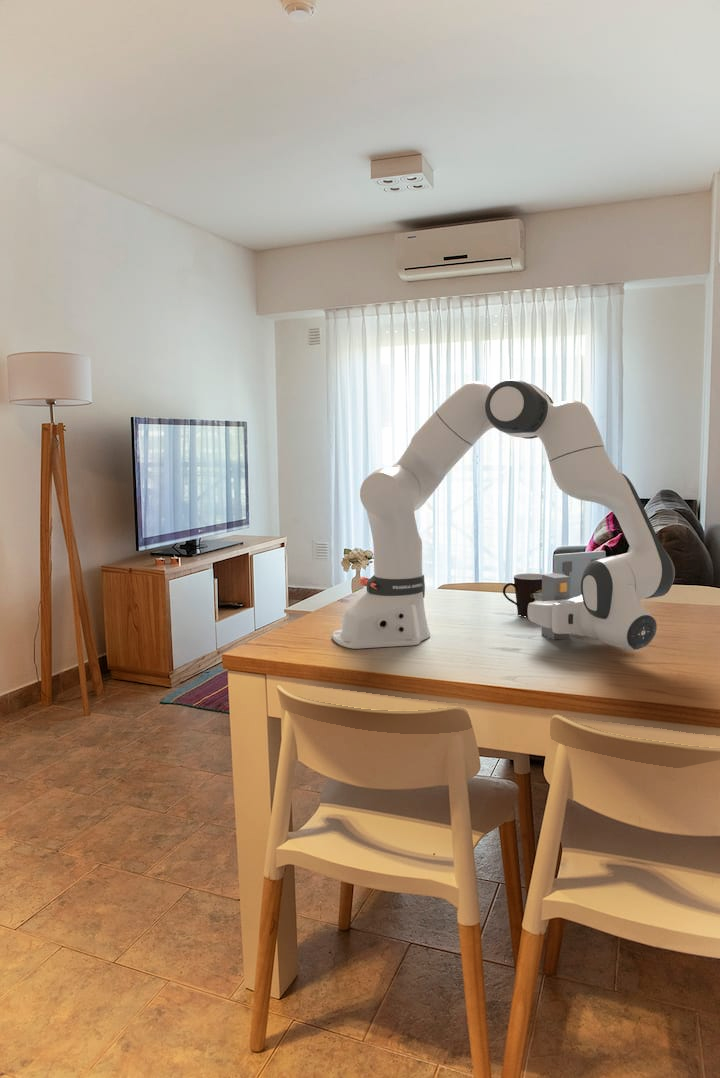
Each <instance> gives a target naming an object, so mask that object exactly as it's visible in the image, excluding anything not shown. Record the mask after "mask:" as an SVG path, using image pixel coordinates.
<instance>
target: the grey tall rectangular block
mask: <svg viewBox="0 0 720 1078" xmlns="http://www.w3.org/2000/svg"><path fill="white" fill-rule="evenodd" d="M562 599H570V577H569V576H566V575H562V574H558V573H554V574H553V573H544V574H543V575H542V601H552V600H562ZM541 634H542V635H541V636H543V635H544V636H543V637H545V636H546V638H548V637H549V639H550V638H551V639H550V640H553V639H554V640H553V641H556V640H555V639H559V640H565V639H564V638H567V639H570V634H556V633H554V632H553V631H552V629H551V628H546V627H543V626H541Z"/></svg>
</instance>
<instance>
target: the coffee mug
mask: <svg viewBox="0 0 720 1078" xmlns="http://www.w3.org/2000/svg"><path fill="white" fill-rule="evenodd" d="M542 575H543V574H542V573H517V574H514V575H513V582H514V583H512V582H508V583H507V584H505V585H504V586H503V587H502V595H503V596H504V597H505V598H506V599H507V601H509V602H511V603H512V604H514V605H515V606H516V608H517V616H518V615H521V616H526V617H528V605H529V603H532V602H534V601H539V600H540V601H542ZM509 586H512V587H513V588H514V590H515V591H514V592H515V600H516V601H515V600H513V599H511V598H509V596H508V595H507V593H506V589H507V588H508V587H509Z"/></svg>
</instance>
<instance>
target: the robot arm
mask: <svg viewBox="0 0 720 1078" xmlns="http://www.w3.org/2000/svg"><path fill="white" fill-rule="evenodd" d="M493 428H495V429H496V430H498V431H499V432H501V433H505V434H506V435H508V436H511V437H515V438H522V439H529V440H530V439H536V438H537V439H539V440H540V441H541V442H542V444H543V447H544V450H545V453H546V456H547V460H548V463H549V467H550V471H551V475H552V477H553V479H554V482H555V484H556V486H557V488H558V489H559V490H561V491H562V492H563V493H564V494H565V495H567V496H569V497H571V498H574V499H577V500H580V501H585V502H588V503H589V502H591V503H594V504H598V505H601V506H604V508H607V509H609V511H611V512H612V513H613V515H614V516H615V517H616V520H617V521H618V524H619V527H620V528H621V530H622V532H623V535H624V537H625V539H626V541H627V544H628V545H629V548H630V549H629V551H628V552H625V553H621V554H616V555H611V556H606V558H602V559H599V560H595V561H592V562H590V563H589V564H588V565H587V567H586V568H585V570H584V573H583V576H582V580H581V594H582V595H580V596H579V597H570V599H562V600H552V601H540V600H539V601H534V602H532V603H529V605H528V618H527V619H528V620H529V621H530V622H532V623H534V624H537V625H539V626H541V627H542V626H543V627H546V628H551V629H552V631H553V632H554V633H556V634H569V635H576V636H581V637H588V638H591V639H593V640H596V641H597V640H600V641H602V642H603V643H604V644H606V645H609V646H612V647H616V648H618V649H622V650H626V651H627V650H628V651H637V650H641V649H643V648H645V647H646V646H648V645H649V644H650V643H651V642H652V641H653V639H654V637H656V633H657V628H658V624H657V621H656V619H655V617H654V616H653V615H652V614H650V613H649V612H648V611H647V610H646V609H645V608H644V606H643V605H642V603H641V602H640V600H644V599H652V598H660V597H663V596H665V595H667V594H668V593H669V591H670V590H671V588H672V586H673V584H674V581H675V577H676V569H675V568H676V567H675V566H674V562H673V560H672V558H671V557H670V555H669V554H668V553H667V551H666V550H665V548H664V547H663V545H662V543H661V541H660V540H659V538H658V535H657V533H656V532H655V529H654V526H653V524H652V523H651V520H650V518H649V515H648V513H647V512H646V509H645V508H644V505H643V503H642V501H641V499H640V497H639V494H638V492H637V490H636V488H635V486H634V484H633V483H632V481H631V480H630V479H629V477H628V476H627V475H625V474H624V473H622V472H620V471H619V469H617V468H616V466H615V465H614V464H613V462H612V461H611V459H610V458H609V456H608V453H607V450H606V448H605V444H604V441H603V438H602V435H601V432H600V429H599V427H598V425H597V422H596V421H595V419H594V417H593V414H592V412H591V411H590V409H589V408H588V406H587V405H586V404H585V403H583V402H582V401H578V400H563V401H560V402H556V403H554V401H553V399H552V398H551V397H550V395H549V394H547V393H546V392H544V391H543V390H542V389H541V388H540V387H538V386H537V385H535V384H532V383H527V382H526V381H524V380H521V379H507V380H502V381H501V382H498V383H497V384H496V385H494V386H493V387H491V386H489V385H487V384H486V383H484V382H481V381H477V380H473V381H468V382H466V383H465V384H463V385H462V386H461V387H459V388H458V389H457V390H456V391H454V392H453V393H452V394H451V395H450V396H449V397H448V398H447V399H446V400H444V401H443V403H441V405H439V406H438V408H437V409H436V410H435V411H434V412H433V414H432V415H431V416H429V418H428V419H427V420H426V421H425V422H424V424H423V425H422V426H421V427H420V428H419V429H418V431H416V433H415V434H414V435H413V436H412V438H411V440H410V443H409V444H408V445H407V448H406V449H405V450H404V453H403V454H402V456H400V458H399V459H398V461H397V462H396V463H395V464H393V465H392V466H387V467H382V468H378V469H376V470H374V471H373V472H371V473H370V474H369V475H368V476H367V477H366V478H365V479H364V481H362V484H361V486H360V488H359V489H360V490H359V496H360V497H359V499H360V502H361V504H362V506H363V509H365V510H366V514H367V515H366V516H367V518H368V522H369V526H370V527H369V528H370V531H371V532H370V533H371V537H372V544H373V545H372V546H373V570H374V571H373V572H374V573H373V575H372V576H371V577H370V578H367V577H366V576H361V577H360V579H359V584H360V585H361V586H363V587H366V593H364V594H363V595H362V596H361V597H360V598H358V600H356V601H355V602H353V604H351V605H350V606H349V607H348V608H346V610H344V612H343V613H344V614H343V616H342V623H341V624H342V625H341V629H337V630H334V631H333V632H332V640H333V641H334V642H335V643H337V644H338V645H339V646H341V647H344V648H348V649H371V648H373V649H375V648H388V647H404V646H405V647H406V646H418V645H419V644H421V642H422V641H424V640H426V639H427V640H428V638H430V637H431V632H430V628H429V626H428V622H427V621H428V620H427V616H426V609H425V602H424V601H425V600H424V599H425V595H426V594H425V592H426V585H425V584H426V583H425V575H424V573H423V541H422V540H423V539H422V538H421V536H420V534H419V530H418V526H417V520H416V513H415V511H417V510H419V509H421V508H422V507H423V505H425V504H426V502H427V500H428V499H430V497H431V496H432V494H434V492H435V491H436V489H437V488H438V487H439V486H440V484H441V483H442V482H443V480H444V478H445V477H446V476H447V475H448V473H449V472H450V471H451V470H452V469H453V468H454V467H455V465H456V464H457V463H458V462H460V460H461V459H462V458H463V457H464V455H466V454H467V453H468V451H470V450H471V448H472V447H473V446H474V445H475V444H476V443H477V442H478V440H479V439H480V438H482V436H483V435H485V433H487V432H488V431H489V430H491V429H493Z"/></svg>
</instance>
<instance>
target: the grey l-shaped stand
mask: <svg viewBox="0 0 720 1078" xmlns="http://www.w3.org/2000/svg"><path fill="white" fill-rule="evenodd" d="M606 553H607V552H606V551H605V550H593V551H579V552H568V553H555V554H553V558H552V559H553V566H552V567H553V570H552V571H553V572H552V574H554V573H558V574H562V575H566V576H569V577H570V597H579V596H580V595H582V594H581V580H582V576H583V573H584V570H585V568H586V567H587V565H588V564H589V563H590V562H592V561H595V560H599V559H602V558H606V557H607V555H606Z"/></svg>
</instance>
